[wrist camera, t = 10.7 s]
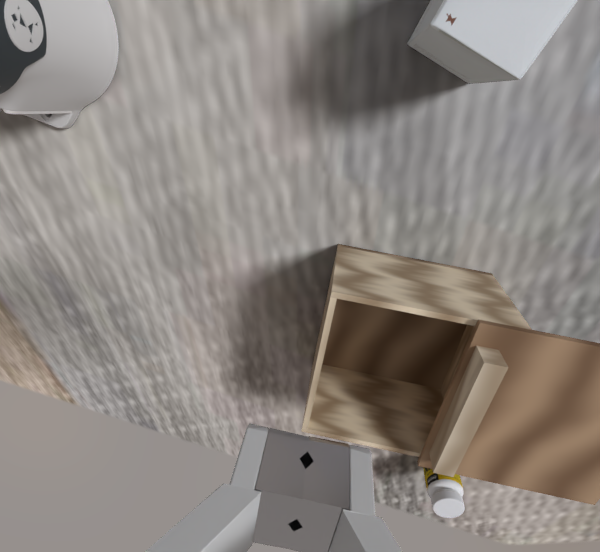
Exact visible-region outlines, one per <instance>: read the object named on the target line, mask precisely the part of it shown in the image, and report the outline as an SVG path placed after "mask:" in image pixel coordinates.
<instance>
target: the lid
mask: <svg viewBox="0 0 600 552" xmlns="http://www.w3.org/2000/svg"><path fill="white" fill-rule="evenodd" d="M417 462H418V466H421V467H425V468H430V469H432V470H433V473H437V474H441V475H446V476H450V477H454V475H455V474H457V475H462V476H466V477H471V478H475V479H480V480H484V481H489V482H493V483H498V484H502V485H507V486H511V487H516V488H520V489H525V490H529V491H534V492H538V493H543V494H548V495H552V496H557V497H561V498H566V499H570V500H575V501H579V502H584V503H588V504H593V505H595V504H596V502H597V501H598V500H599V499H600V343H595V342H590V341H585V340H580V339H575V338H570V337H565V336H560V335H555V334H550V333H545V332H540V331H535V330H530V329H525V328H519V327H514V326H509V325H504V324H499V323H494V322H489V321H484V320H479V319H478V321H477V323H476V325H475V328H474V330H473V332H472V335H471V337H470V339H469V342H468V344H467V346H466V349H465V351H464V353H463V356H462V358H461V360H460V363H459V365H458V367H457V370H456V372H455V374H454V377H453V379H452V381H451V384H450V386H449V388H448V391H447V393H446V395H445V398H444V400H443V402H442V405H441V407H440V409H439V412H438V414H437V416H436V419H435V421H434V423H433V426H432V428H431V430H430V433H429V435H428V437H427V440H426V442H425V445H424V447H423V449H422V452H421V454H420V456H419V459H418V461H417Z"/></svg>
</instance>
